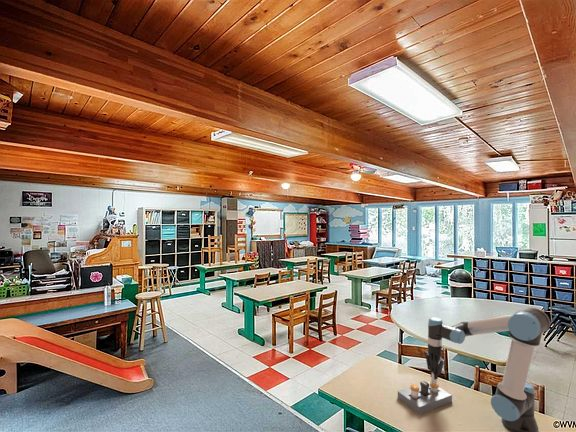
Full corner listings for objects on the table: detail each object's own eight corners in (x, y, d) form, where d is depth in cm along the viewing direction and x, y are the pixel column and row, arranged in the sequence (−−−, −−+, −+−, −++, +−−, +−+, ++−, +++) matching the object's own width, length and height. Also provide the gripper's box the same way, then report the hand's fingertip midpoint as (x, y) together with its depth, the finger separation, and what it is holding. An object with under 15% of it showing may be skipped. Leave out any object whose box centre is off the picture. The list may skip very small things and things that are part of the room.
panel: (451, 401, 176) (452, 395, 176) (419, 414, 166) (419, 407, 165) (428, 387, 191) (428, 380, 191) (397, 397, 180) (397, 391, 180)
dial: (430, 395, 177) (431, 384, 177) (425, 398, 175) (425, 386, 175) (424, 391, 181) (424, 380, 181) (418, 393, 179) (418, 382, 179)
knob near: (421, 399, 174) (421, 388, 174) (414, 401, 172) (415, 390, 172) (414, 394, 178) (414, 383, 178) (408, 396, 176) (408, 385, 176)
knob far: (440, 395, 180) (440, 385, 180) (434, 398, 178) (434, 386, 178) (433, 391, 185) (433, 380, 185) (427, 393, 183) (428, 382, 183)
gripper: (449, 347, 177) (448, 387, 177) (430, 339, 188) (429, 376, 189) (440, 350, 173) (439, 390, 174) (421, 341, 185) (420, 379, 186)
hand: (434, 383), depth 182 cm, fingers closed
